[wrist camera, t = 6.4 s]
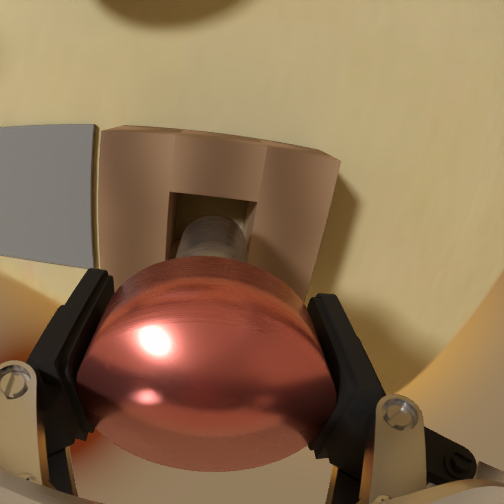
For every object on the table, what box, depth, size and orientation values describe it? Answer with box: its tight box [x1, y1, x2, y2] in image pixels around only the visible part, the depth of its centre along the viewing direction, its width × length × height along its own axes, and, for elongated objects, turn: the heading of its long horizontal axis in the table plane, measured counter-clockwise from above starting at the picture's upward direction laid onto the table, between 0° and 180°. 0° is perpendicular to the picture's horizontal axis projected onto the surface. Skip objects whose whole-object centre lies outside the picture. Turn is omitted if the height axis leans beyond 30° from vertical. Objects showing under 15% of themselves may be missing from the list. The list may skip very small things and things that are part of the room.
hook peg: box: [76, 215, 336, 472], centre depth 11 cm, size 6×6×9 cm
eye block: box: [98, 125, 341, 303], centre depth 18 cm, size 12×10×4 cm
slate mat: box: [0, 124, 95, 269], centre depth 18 cm, size 10×10×1 cm
